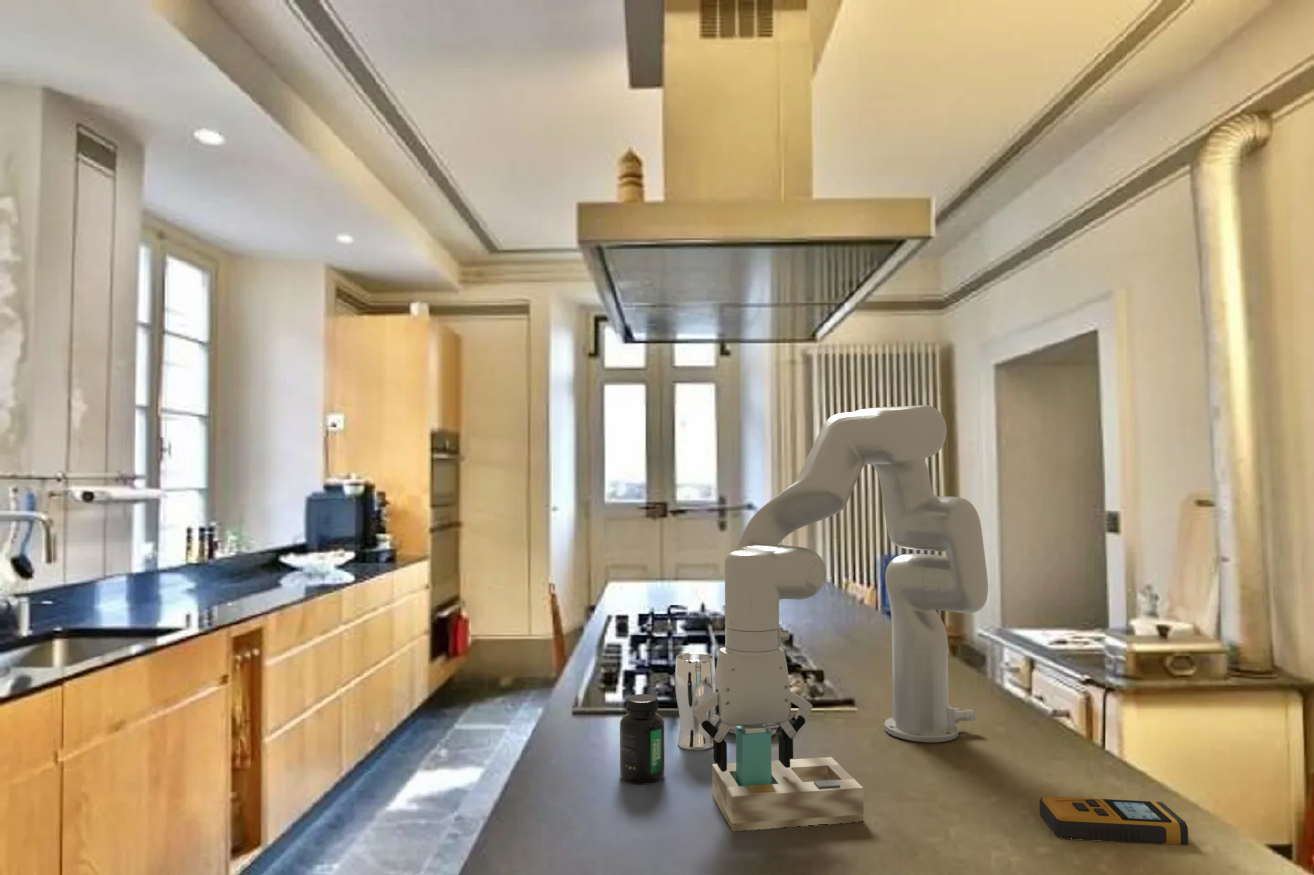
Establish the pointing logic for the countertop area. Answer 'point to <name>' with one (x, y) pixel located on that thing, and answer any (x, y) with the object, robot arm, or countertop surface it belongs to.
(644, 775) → the supplement bottle
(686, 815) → the countertop surface
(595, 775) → the countertop surface
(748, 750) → the plug
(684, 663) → the beer glass
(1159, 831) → the electronic device
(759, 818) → the socket block
